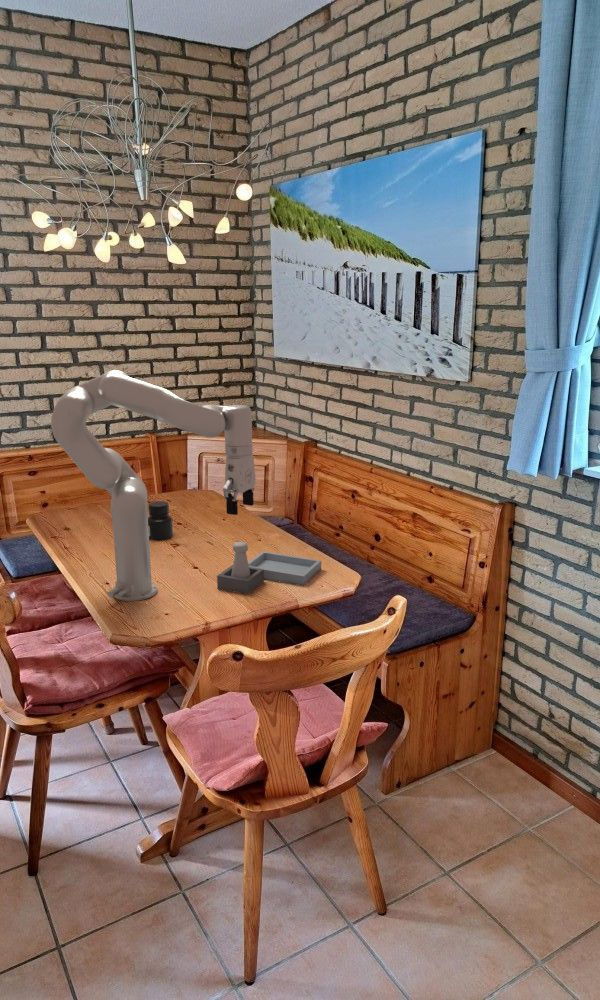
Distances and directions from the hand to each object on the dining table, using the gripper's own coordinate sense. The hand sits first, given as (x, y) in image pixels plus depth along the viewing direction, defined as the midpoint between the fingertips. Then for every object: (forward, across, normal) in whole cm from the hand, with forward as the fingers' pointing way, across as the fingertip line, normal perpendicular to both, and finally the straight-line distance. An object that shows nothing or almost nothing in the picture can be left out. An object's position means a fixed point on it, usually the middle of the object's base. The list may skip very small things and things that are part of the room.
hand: (240, 509), depth 201 cm
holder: (+23, 0, 0) cm, 23 cm away
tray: (+23, +14, -7) cm, 28 cm away
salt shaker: (+23, 0, 0) cm, 23 cm away
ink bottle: (+23, +27, +46) cm, 58 cm away
